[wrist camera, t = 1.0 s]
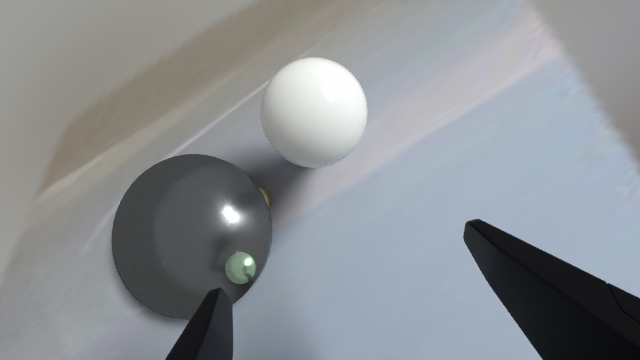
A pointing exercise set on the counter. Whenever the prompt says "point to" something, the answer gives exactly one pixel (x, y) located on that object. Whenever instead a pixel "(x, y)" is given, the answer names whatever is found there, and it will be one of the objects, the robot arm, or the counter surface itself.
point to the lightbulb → (314, 112)
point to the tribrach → (191, 233)
